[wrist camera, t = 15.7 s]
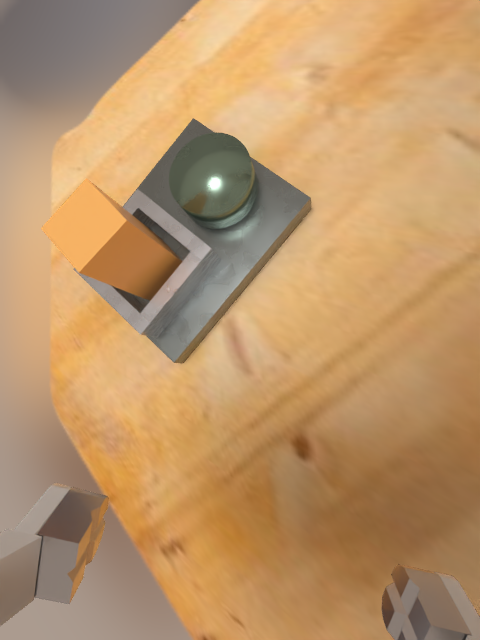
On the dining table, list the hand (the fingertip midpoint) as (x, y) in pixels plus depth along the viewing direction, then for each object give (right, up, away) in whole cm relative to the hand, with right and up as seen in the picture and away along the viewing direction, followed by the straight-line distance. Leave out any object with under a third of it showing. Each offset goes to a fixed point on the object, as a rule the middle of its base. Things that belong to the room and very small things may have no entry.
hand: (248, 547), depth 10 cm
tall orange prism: (-8, +11, +22) cm, 26 cm away
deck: (-5, +14, +24) cm, 28 cm away
